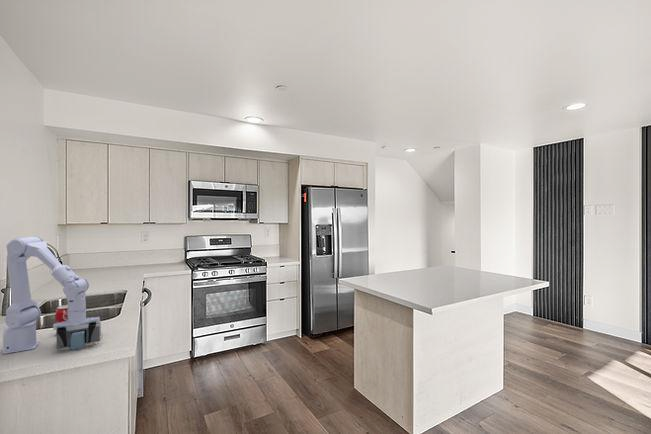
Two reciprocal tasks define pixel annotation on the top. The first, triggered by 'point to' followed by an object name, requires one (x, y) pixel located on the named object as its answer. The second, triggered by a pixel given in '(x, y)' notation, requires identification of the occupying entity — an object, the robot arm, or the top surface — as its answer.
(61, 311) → the soda can
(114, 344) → the top surface
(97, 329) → the housing
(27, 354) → the top surface
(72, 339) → the block
